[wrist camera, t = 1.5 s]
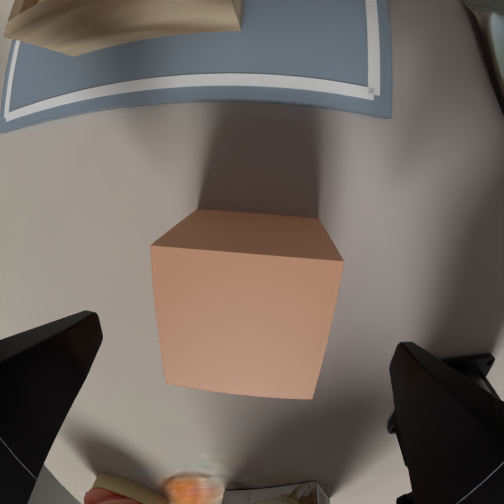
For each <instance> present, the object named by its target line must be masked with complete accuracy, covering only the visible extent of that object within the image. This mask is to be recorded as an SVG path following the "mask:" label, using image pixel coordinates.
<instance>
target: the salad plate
mask: <svg viewBox="0 0 504 504" xmlns="http://www.w3.org/2000/svg"><path fill="white" fill-rule="evenodd" d="M462 2H463V3H464V4H465V5H466V6H468V7H469V8H470V9H471V10H472V12H473V13H474V15H475V17H476V20H477V22H478V25H479V28H480V31H481V34H482V39H483V45H484V51H485V57H486V62H487V66H488V70H489V75H490V79H491V82H492V85H493V89H494V92H495V95H496V97H497V100H498V103H499V105H500V108H501V110H502V112H503V115H504V0H463V1H462Z"/></svg>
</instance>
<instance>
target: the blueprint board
mask: <svg viewBox="0 0 504 504" xmlns="http://www.w3.org/2000/svg"><path fill="white" fill-rule="evenodd" d="M181 102H259V103H276V104H289V105H300V106H309V107H318V108H326V109H333V110H340V111H346V112H352V113H358V114H364V115H369V116H374V117H379V118H384V119H388V118H391V116H392V49H391V31H390V18H389V8H388V0H244V6H243V18H242V29H241V31H223V32H203V33H191V34H181V35H172V36H164V37H157V38H151V39H145V40H140V41H134V42H129V43H124V44H120V45H115V46H111V47H107V48H103V49H99V50H95V51H92V52H88V53H85V54H81V55H78V56H75V57H72V56H69V55H66V54H63V53H60V52H57V51H54V50H50V49H47V48H44V47H40V46H37V45H33V44H29V43H26V42H22V41H18V40H14V39H13V40H12V44H11V49H10V53H9V58H8V63H7V68H6V74H5V80H4V87H3V94H2V103H1V113H0V133H7V132H10V131H13V130H17V129H20V128H23V127H27V126H31V125H34V124H38V123H42V122H46V121H50V120H55V119H59V118H64V117H69V116H73V115H79V114H84V113H90V112H96V111H102V110H108V109H115V108H123V107H131V106H141V105H151V104H164V103H181Z"/></svg>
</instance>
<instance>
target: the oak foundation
mask: <svg viewBox="0 0 504 504" xmlns="http://www.w3.org/2000/svg"><path fill="white" fill-rule="evenodd" d="M243 6H244V0H15V2H14V5H13V7H12V10H11V13H10V16H9V20H8V23H7V26H6V30H5V33H4V37H5V38H10V39H14V40H18V41H22V42H26V43H29V44H33V45H37V46H40V47H44V48H47V49H50V50H54V51H57V52H60V53H63V54H66V55H69V56H72V57H75V56H78V55H81V54H85V53H88V52H92V51H95V50H99V49H103V48H107V47H111V46H115V45H120V44H124V43H129V42H134V41H140V40H145V39H151V38H157V37H164V36H172V35H181V34H191V33H203V32H223V31H241V29H242V18H243Z"/></svg>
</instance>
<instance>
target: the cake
mask: <svg viewBox="0 0 504 504" xmlns="http://www.w3.org/2000/svg"><path fill="white" fill-rule="evenodd" d="M84 504H170V502H169V501H168V500H167V499H166V498H164V497H163V496H162V495H160V494H158V493H156V492H155V491H153V490H151V489H149V488H146V487H144V486H142V485H140V484H138V483H135V482H133V481H130V480H128V479H125V478H122V477H119V476H116V475H111V474H107V473H100V474H99V475H98V476H97V478H96V480H95V482H94V484H93V487H92V489H90V490H89V492H86V494H85V497H84Z"/></svg>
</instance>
